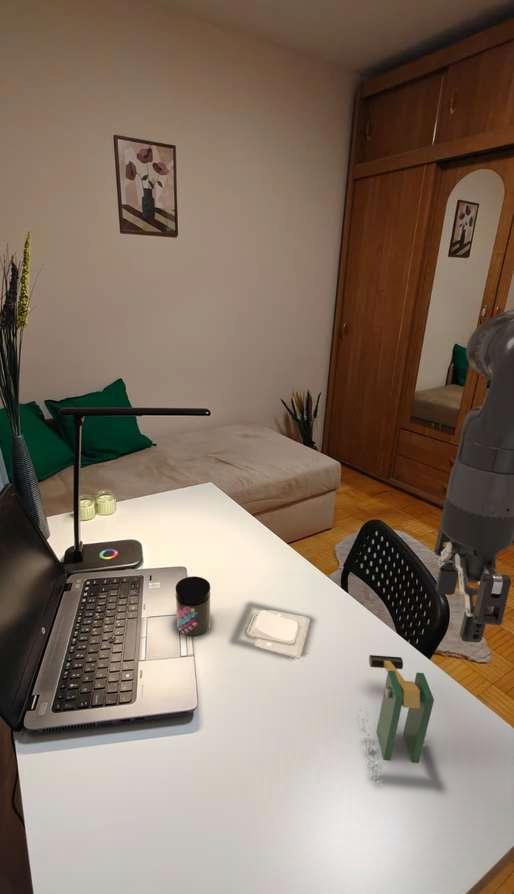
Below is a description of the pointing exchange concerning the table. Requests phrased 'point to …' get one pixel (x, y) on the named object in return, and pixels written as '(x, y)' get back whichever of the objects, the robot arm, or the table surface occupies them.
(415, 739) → the bracket
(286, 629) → the light switch
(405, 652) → the table surface
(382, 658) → the lever
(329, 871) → the table surface
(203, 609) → the supplement container
